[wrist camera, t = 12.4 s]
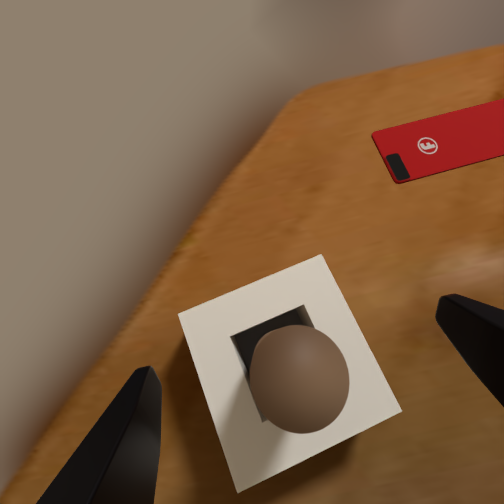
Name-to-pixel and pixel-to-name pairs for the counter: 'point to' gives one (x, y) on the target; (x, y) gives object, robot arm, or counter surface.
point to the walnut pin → (299, 379)
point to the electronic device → (442, 141)
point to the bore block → (240, 356)
